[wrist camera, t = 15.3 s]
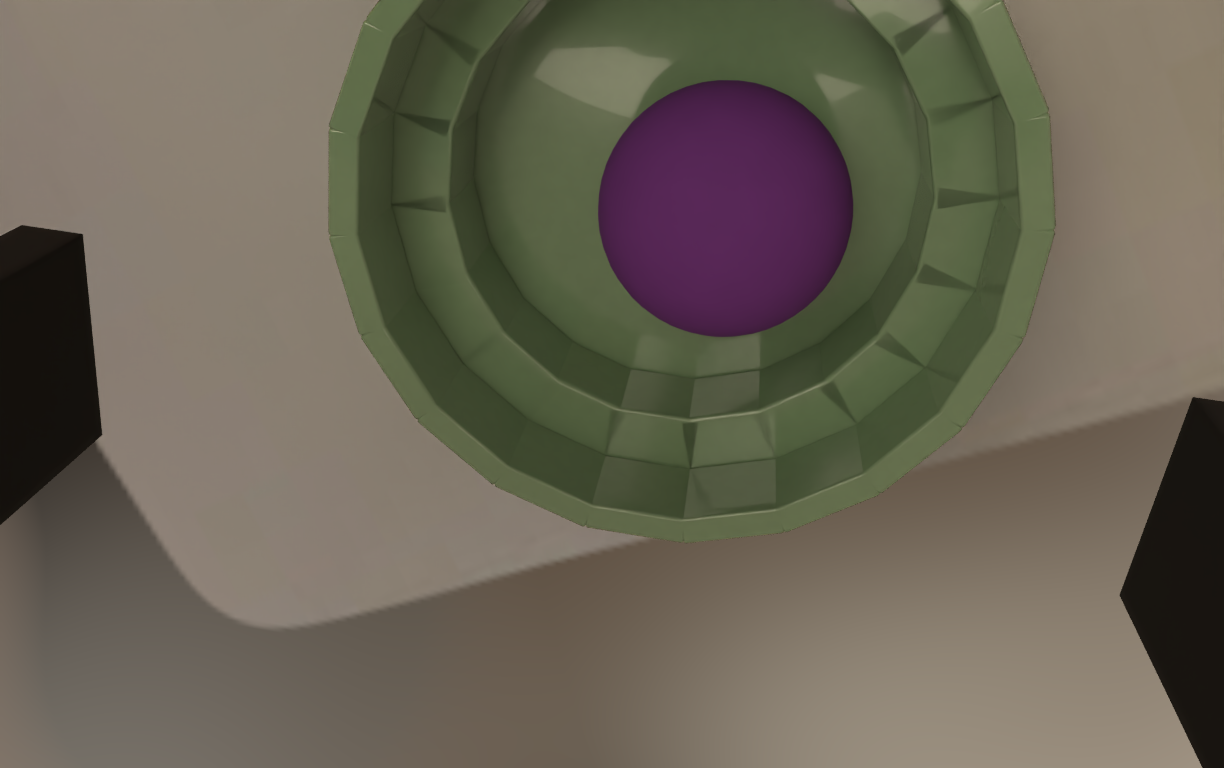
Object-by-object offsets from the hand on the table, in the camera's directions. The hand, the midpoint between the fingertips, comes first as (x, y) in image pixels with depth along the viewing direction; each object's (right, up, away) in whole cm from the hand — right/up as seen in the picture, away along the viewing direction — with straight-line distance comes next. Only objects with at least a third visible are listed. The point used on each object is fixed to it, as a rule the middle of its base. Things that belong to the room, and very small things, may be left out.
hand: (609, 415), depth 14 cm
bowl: (+2, +5, +12) cm, 13 cm away
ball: (+2, +4, +9) cm, 10 cm away
